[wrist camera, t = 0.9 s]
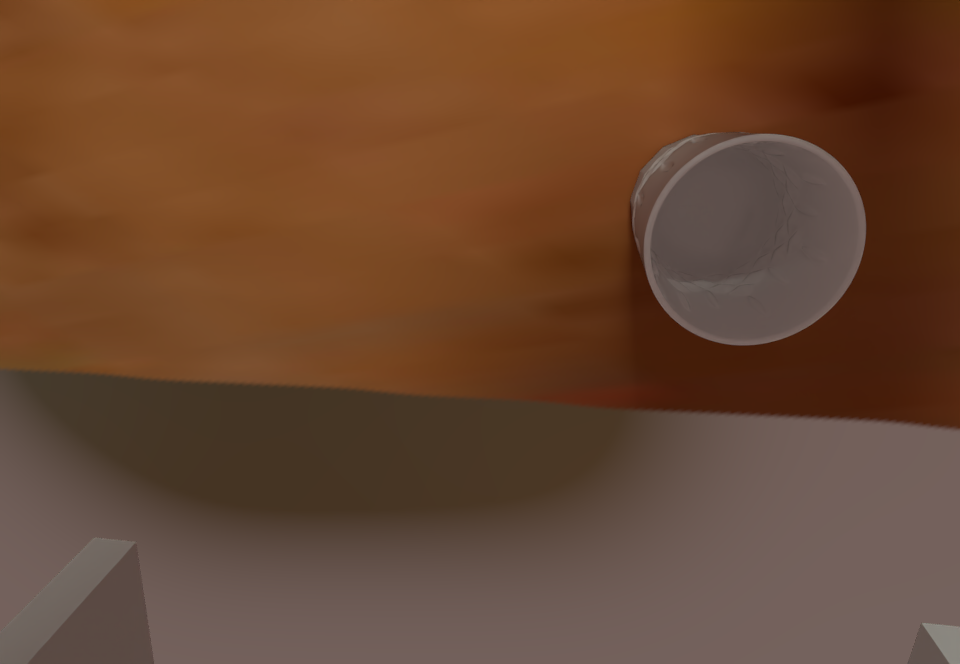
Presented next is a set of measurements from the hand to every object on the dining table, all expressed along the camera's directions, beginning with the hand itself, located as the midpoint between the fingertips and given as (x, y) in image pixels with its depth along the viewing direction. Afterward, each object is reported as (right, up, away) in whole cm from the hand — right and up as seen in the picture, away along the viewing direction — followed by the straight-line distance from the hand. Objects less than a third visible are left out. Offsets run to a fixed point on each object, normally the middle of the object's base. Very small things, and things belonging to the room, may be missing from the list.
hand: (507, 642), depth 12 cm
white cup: (+10, +12, +23) cm, 28 cm away
